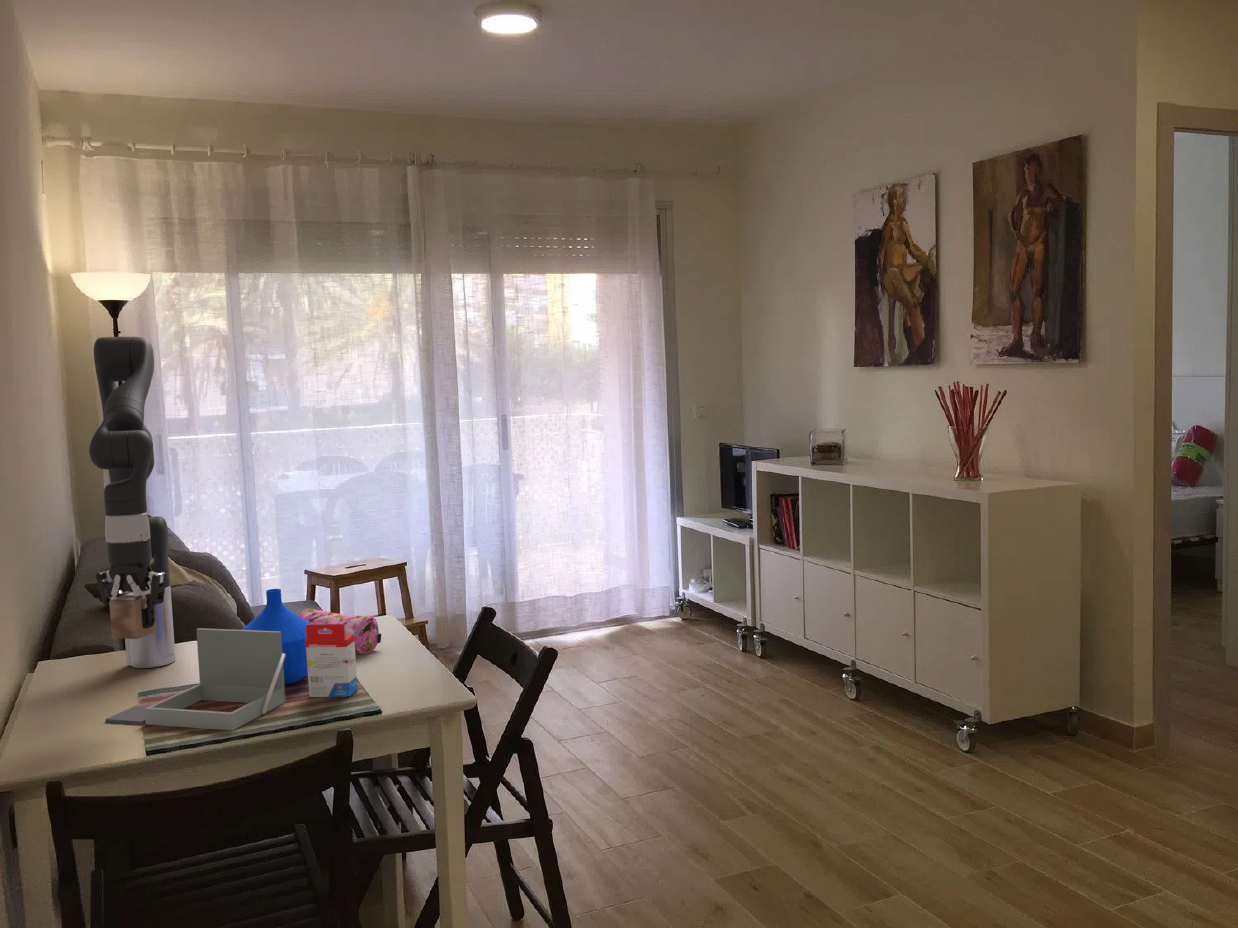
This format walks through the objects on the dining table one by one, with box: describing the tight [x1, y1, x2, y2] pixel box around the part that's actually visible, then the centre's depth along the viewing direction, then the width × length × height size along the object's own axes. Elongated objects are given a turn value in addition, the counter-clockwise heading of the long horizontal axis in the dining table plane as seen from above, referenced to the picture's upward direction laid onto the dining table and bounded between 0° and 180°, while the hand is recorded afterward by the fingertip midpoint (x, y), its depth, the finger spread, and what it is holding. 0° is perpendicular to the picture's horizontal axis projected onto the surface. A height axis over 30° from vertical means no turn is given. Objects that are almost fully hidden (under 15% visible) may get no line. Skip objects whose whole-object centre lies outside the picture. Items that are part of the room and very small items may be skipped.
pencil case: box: [298, 608, 382, 655], centre depth 239 cm, size 21×9×9 cm, turn 62°
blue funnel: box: [241, 588, 320, 685], centre depth 214 cm, size 18×18×19 cm
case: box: [145, 627, 286, 731], centre depth 193 cm, size 19×16×14 cm
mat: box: [104, 705, 150, 725], centre depth 194 cm, size 8×8×1 cm
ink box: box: [305, 624, 359, 698], centre depth 203 cm, size 8×5×15 cm, turn 84°
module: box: [109, 593, 157, 640], centre depth 192 cm, size 6×6×8 cm
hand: (134, 626), depth 192 cm, fingers closed on module, 5 cm apart
